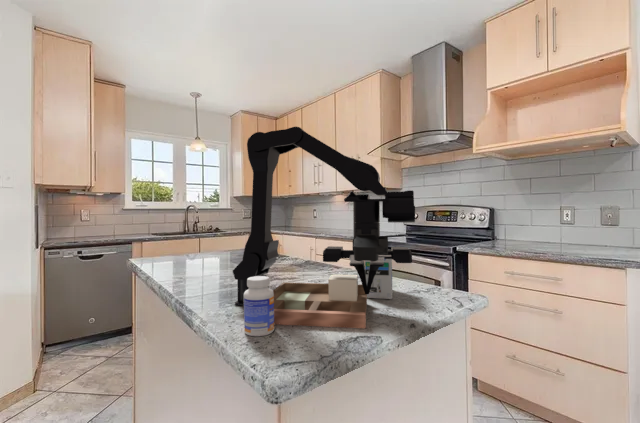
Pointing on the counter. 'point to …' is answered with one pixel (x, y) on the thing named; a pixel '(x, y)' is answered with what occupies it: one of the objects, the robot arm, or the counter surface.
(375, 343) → the counter surface
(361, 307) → the tray
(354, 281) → the cream block
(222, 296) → the counter surface
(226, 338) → the counter surface
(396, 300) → the counter surface
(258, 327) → the pill bottle
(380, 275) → the light bulb box
